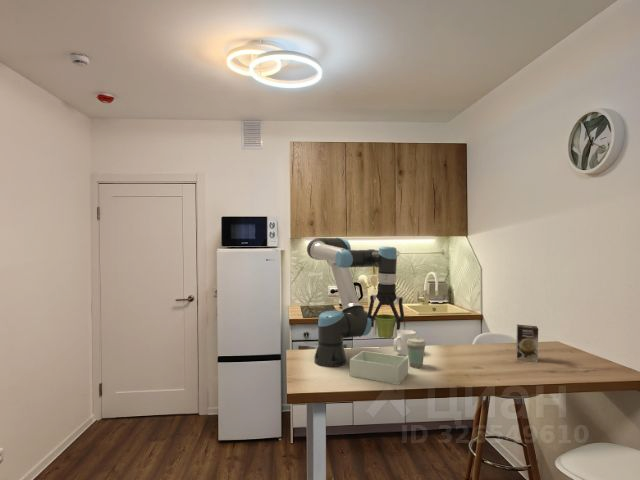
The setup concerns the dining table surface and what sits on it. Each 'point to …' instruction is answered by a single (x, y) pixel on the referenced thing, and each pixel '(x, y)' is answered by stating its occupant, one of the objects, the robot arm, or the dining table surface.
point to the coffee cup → (416, 352)
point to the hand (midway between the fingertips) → (385, 335)
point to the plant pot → (385, 325)
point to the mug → (403, 341)
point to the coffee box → (527, 343)
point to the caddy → (379, 367)
